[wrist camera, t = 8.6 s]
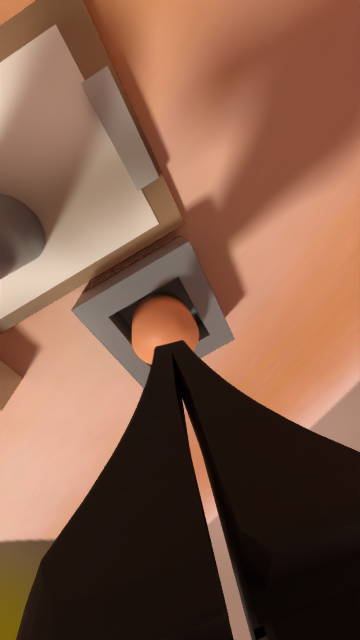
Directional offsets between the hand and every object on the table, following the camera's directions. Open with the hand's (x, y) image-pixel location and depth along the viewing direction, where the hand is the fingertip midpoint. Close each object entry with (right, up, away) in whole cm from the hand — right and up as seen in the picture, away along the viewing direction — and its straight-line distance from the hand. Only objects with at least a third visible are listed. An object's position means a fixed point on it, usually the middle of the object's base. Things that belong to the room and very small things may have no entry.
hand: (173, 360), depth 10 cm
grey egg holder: (-1, +3, +5) cm, 6 cm away
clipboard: (-7, +8, +1) cm, 10 cm away
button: (-1, +2, +3) cm, 4 cm away
